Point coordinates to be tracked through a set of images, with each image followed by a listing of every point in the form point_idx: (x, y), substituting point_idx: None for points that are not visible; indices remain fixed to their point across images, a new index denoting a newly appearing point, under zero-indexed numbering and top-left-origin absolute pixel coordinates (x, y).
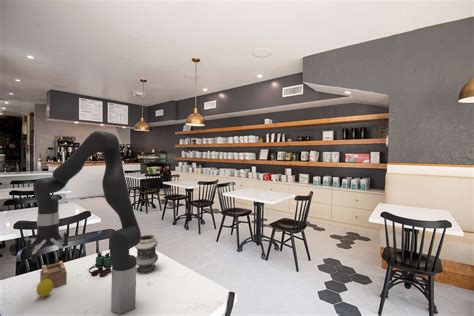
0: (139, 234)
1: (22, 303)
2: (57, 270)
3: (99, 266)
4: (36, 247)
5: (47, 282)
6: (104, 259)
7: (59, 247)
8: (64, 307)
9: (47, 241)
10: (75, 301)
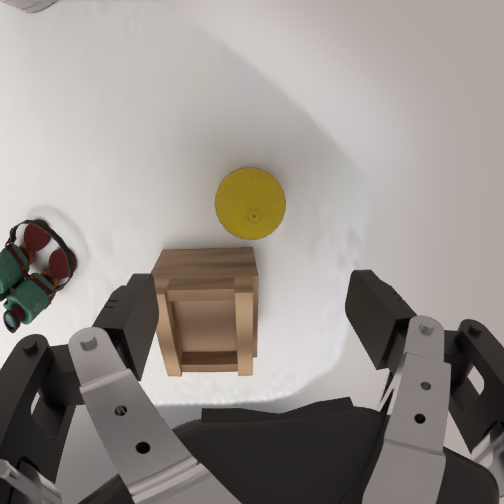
0: None
1: (321, 197)
2: (187, 293)
3: (39, 279)
4: (447, 375)
5: (243, 189)
6: (3, 277)
7: (109, 343)
8: (190, 50)
9: (307, 491)
10: (147, 70)
